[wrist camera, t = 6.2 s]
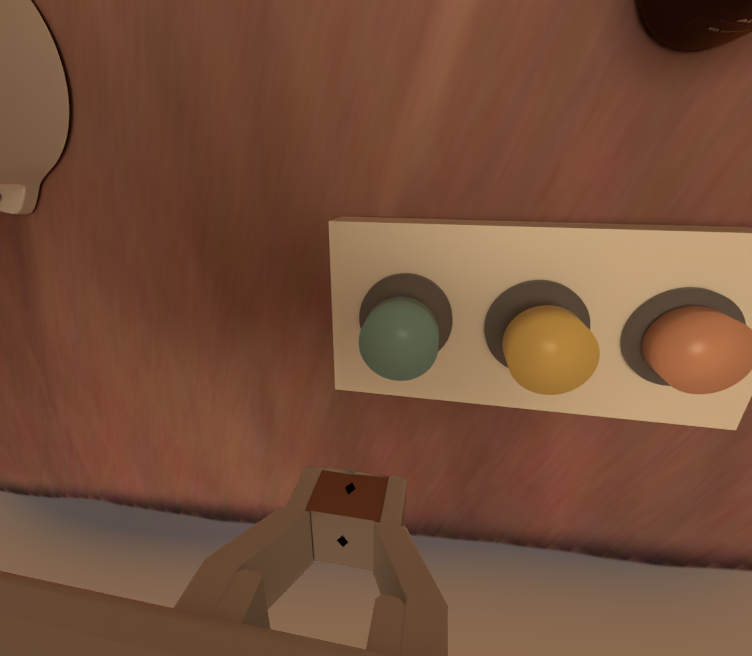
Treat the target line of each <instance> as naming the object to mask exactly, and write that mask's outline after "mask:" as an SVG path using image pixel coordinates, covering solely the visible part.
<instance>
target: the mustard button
mask: <svg viewBox="0 0 752 656" xmlns="http://www.w3.org/2000/svg"><path fill="white" fill-rule="evenodd" d="M502 346H503V352H504V355H505V358H506V362H507V365H508V368H509V370H510V373H511V375H512V377H513V378H514V379H515V381H516V382H517V383H518V384H519V385H521V386H522V387H523V388H525V389H527V390H529V391H531V392H534V393H537V394H542V395H558V394H563V393H567V392H570V391H572V390H574V389H576V388H578V387H580V386H581V385H583V384H584V383H585V382H586V381H587V380H588V379H589V378H590V377H591V376H592V375H593V373H594V372H595V370H596V368H597V365H598V363H599V358H600V350H599V345H598V342H597V340H596V338H595V336H594V335H593V333H592V332H591V331H590V330H589V329H588V328H587V327H586V326H585V325H584V323H583V322H582V321H581V320H580V319H579V318H578V317H577V316H576V315H575V314H573V313H572V312H571V311H569V310H567V309H565V308H562V307H558V306H552V305H543V306H537V307H533V308H530V309H527V310H525V311H523V312H522V313H520V314H519V315H517V316H516V317H515V318H514V319H513V320H512V321H511V322H510V324H509V325H508V326H507V328H506V330H505V333H504V336H503V341H502Z"/></svg>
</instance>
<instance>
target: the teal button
mask: <svg viewBox="0 0 752 656" xmlns="http://www.w3.org/2000/svg"><path fill="white" fill-rule="evenodd" d="M358 343H359V350H360V354H361V356H362V358H363V360H364V362H365V363H366V365H367V366H368V367H369V368H370V369H371V370H372V371H373V372H375V373H376V374H378V375H380V376H382V377H384V378H386V379H390V380H395V381H407V380H412V379H415V378H417V377H419V376H421V375H423V374H424V373H426V372H427V371H428V370H429V369H430V368H431V367H432V365H433V364H434V362H435V360H436V357H437V354H438V346H439V326H438V322H437V320H436V317H435V316H434V314H433V312H432V311H431V310H430V309H429V308H428V307H427V306H426V305H425V304H423V303H422V302H420V301H418V300H416V299H413V298H410V297H392V298H388V299H386V300H384V301H382V302H380V303H379V304H377V305H376V306H375V307H374V308H373V310H372V311H371V312H370V314H369V316H368V318H367V319H366V321H365V323H364V325H363V327H362V328H361V331H360V334H359V342H358Z"/></svg>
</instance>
